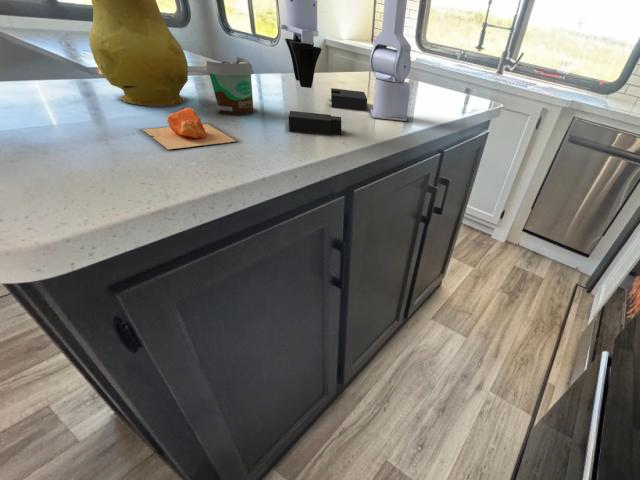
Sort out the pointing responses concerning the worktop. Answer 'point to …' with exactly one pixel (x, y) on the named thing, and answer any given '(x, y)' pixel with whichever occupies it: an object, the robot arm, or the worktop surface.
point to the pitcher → (138, 52)
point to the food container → (232, 86)
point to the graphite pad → (348, 99)
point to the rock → (187, 131)
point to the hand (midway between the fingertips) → (303, 83)
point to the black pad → (314, 123)
